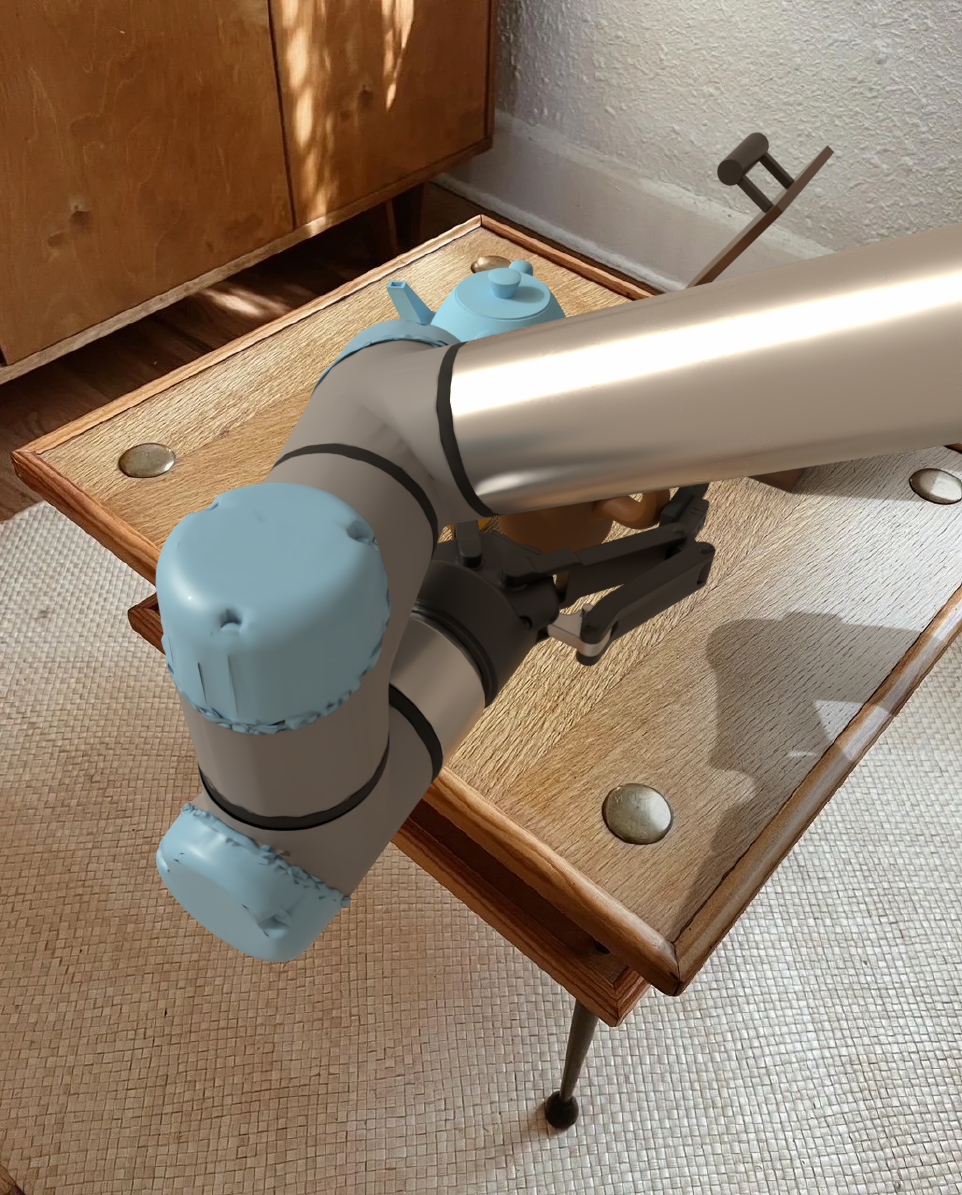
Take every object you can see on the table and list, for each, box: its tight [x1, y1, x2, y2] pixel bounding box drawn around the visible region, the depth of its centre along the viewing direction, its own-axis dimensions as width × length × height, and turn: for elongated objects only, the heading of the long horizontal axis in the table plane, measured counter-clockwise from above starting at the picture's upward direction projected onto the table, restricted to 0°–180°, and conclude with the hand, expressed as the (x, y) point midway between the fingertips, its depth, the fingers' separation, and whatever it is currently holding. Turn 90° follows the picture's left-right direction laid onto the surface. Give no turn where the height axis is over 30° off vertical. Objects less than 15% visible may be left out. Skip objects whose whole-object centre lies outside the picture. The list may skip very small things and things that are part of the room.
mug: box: [496, 489, 672, 554], centre depth 62 cm, size 12×8×9 cm, turn 40°
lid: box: [684, 131, 835, 289], centre depth 83 cm, size 16×13×6 cm
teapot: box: [386, 259, 567, 342], centre depth 93 cm, size 15×17×11 cm
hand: (613, 435), depth 63 cm, fingers closed on mug, 12 cm apart
